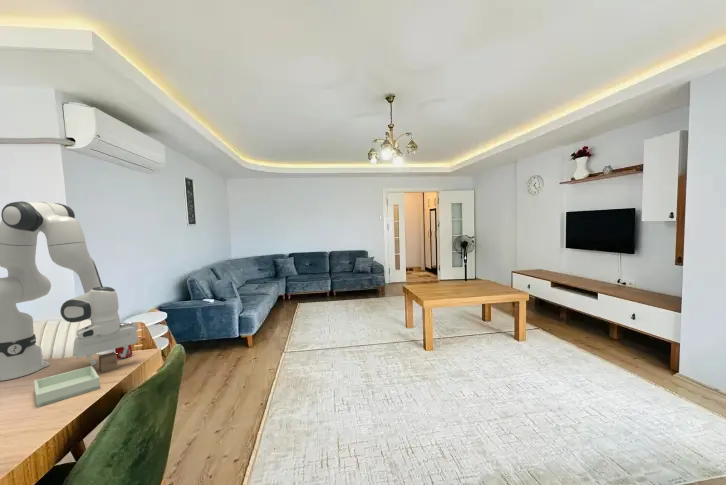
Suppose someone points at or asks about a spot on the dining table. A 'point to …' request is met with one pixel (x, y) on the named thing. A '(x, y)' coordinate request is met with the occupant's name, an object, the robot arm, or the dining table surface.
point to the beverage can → (120, 350)
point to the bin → (65, 385)
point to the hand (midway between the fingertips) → (108, 360)
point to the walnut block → (107, 362)
